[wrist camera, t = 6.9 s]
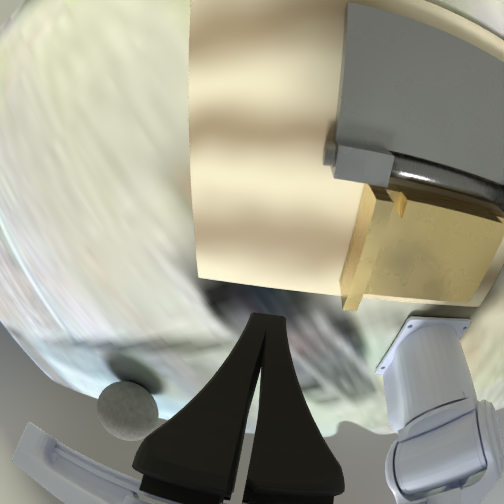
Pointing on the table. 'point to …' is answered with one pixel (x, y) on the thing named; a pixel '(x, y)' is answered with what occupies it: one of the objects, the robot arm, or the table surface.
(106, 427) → the decorative ball
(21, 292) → the table surface
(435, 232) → the loose leaf
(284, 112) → the board
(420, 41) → the fixed leaf
